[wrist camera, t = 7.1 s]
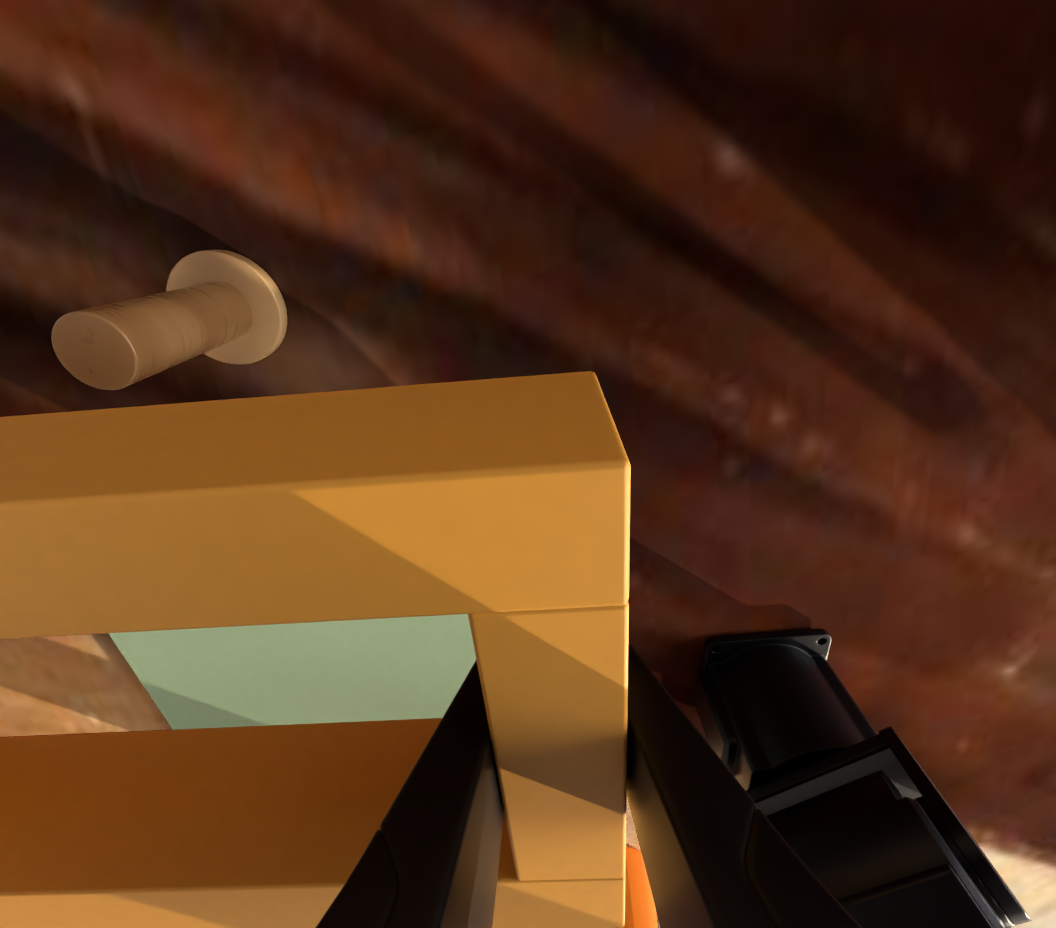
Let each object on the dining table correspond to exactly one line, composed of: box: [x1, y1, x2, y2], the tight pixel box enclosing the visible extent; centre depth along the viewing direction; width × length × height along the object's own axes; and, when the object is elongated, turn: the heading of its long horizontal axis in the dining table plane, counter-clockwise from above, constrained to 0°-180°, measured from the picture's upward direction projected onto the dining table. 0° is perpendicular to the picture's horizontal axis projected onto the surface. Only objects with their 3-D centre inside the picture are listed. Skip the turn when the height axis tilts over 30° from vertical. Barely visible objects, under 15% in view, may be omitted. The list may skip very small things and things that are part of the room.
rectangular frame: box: [0, 371, 631, 928], centre depth 9 cm, size 18×10×3 cm, turn 95°
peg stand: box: [51, 250, 287, 390], centre depth 15 cm, size 4×4×7 cm
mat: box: [108, 614, 476, 730], centre depth 26 cm, size 24×16×1 cm, turn 95°
